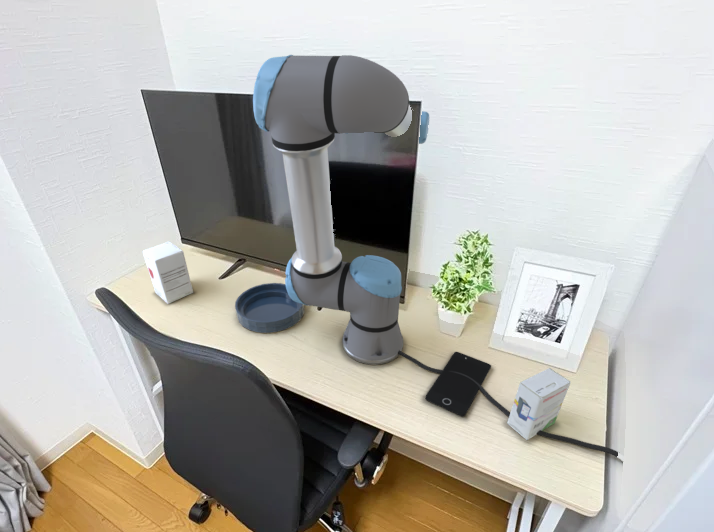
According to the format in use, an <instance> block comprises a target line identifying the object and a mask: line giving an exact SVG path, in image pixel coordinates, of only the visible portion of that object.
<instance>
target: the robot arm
mask: <svg viewBox="0 0 714 532" xmlns="http://www.w3.org/2000/svg"><path fill="white" fill-rule="evenodd" d="M252 106H253V107H252V108H253V115H254V119H255V123H256V124H257V125H258V128H259V129H260V130H263V131H264V132H265V133H266V132H270V138H271V142H272V146H273V147H274V149H276V150H277V151H279V152H280V153H281V154H282V160H283V167H284V174H285V179H286V187H287V195H288V201H289V208H290V213H291V214H290V215H291V220H292V227H293V228H292V229H293V234H294V241H295V247H296V248H295V249H296V250H295V251H294V253H293V254H292V256H291V257H290V259H289V260H288V262H287V265H286V268H285V278H284V284H286V289H287V292H288V295H289V296H290V298H291V299H292V300H293V301H295V302H297V303H301V304H304V306H309V307H315V308H316V307H317V308H321V309H328V310H335V311H341V312H346V313H349V320H348V323H347V325H346V327H345V329H344V332H343V335H342V348H343V351H344V352H345V354H346V355H347V356H348V357H349V358H350V359H352V360H353V361H356V362H358V363H360V364H364V365H371V366H372V365H373V366H379V365H385V364H388V363H391V362H393V361H394V360H396V359H397V358H398V357H402V358H403V359H406V360H408V361H410V362H412V363H413V364H415V365H416V366H418V367H419V368H421V369H423V370H425V371H428V372H430V373H434V374H438V375H440V373H441V372H442V371H443V369H440V368H435V367H432V366H429V365H426V364H425V363H423V362H421V361H419V360H418V359H417V358H415V357H413V356H411V355H409V354H408V353H406V352H404V351H403V349H404V337H403V335H402V331H401V327H400V324H399V314H400V313H399V312H400V302H401V293H402V291H403V287H402V272H401V270H400V268H399V267H398V266H397V265H396V264H395V263H394V262H393V261H391V260H389V259H387V258H385V257H382V256H378V255H372V254H371V255H370V254H366V255H364V256H363V255H360V256H357V257H355V258H354V259H353V260H352V261H351V262H348V261H343V255H342V252H341V250H340V249H339V248H338V247H337V246H336V245H335V243H336V241H335V237H336V236H335V235H336V234H334V233H333V232H335V231H336V229H333V224H334V220H333V208H332V205H331V191H330V184H331V180H330V177H331V176H330V165H329V151H328V148H329V147H330V146H331V144H333V143H334V141H335V138H336V134H343V133H345V134H348V133H364V132H374V133H385V134H386V135H388V136H391V137H397V136H400V135H402V134H404V133H405V132H406V131H407V130H408V128H409V126H410V124H411V121H412V110H413V109H412V110H411V108H412V106H411V105H410V95H409V92H408V90H407V87H406V86H405V84H404V83H403V81H402V80H401V79H400V77H398V76H397V74H395V73H394V72H393V71H391V70H389V69H388V68H386V67H385V66H383V65H381V64H380V63H377V62H375V61H373V60H371V59H368V58H365V57H362V56H358V55H351V54H349V55H346V54H343V55H294V54H289V55H284V56H283V55H282V56H274V57H270V58H268V59H266V60H265V61H264V62H263V63H262V65H261V67H259V70H258V72H257V75H256V79H255V82H254V88H253V93H252ZM410 106H411V107H410ZM421 111H422V110H421ZM428 125H429V126H430V113H429V112H428V111H424V110H423V111H422V115H421V125H420V137H419V144H418V145H423V144H424V143H426V141H427V139H428V135H429V128H428ZM427 134H428V135H427ZM451 372H453V371H451ZM455 373H458V374H461V375H463V376H466V377H468V378H469V379H471V380H472V381H474V382H475V383H476V384H477V385H478V386H479V387H480V388H479V392H480V393H481V394H482V396H484V397H485V398H486V399H487V400H488V401H489V402H490V403H491V404H492V405H493V406H495V407H496V408H497V409H498V410H499V411H501V413H503V414H504V415H505V416H506V417H508V418H509V416H510V413H511V411H509V410H508V409H507V408H506V407H504V406H503V405H502V404H501V403H499V402H498V401H497V400H496V399H495V398H494V397H492V395H491V394H489V392H488V391H487V390H486V389H485V388H484V387H483V386H482V385H480V384H479V383H478V382H476V381H475V380H474V379H472V378H471V377H469V376H467V375H465V374H462V373H459V372H455ZM536 436H541V437H544V438H546V439H550V440H555V441H560V442H563V443H568V444H572V445H575V446H577V447H578V446H579V447H582V448H585V449H588V450H589V449H590V450H592V451H598V452H601V453H605V454H608V455H610V456H614V457H615V458H617V456H618V452H619V451H617V450H615V449H613V448H610V447H606V446H603V445H599V444H595V443H590V442H586V441H583V440H578V439H576V438H573V437H569V436H566V435H565V436H564V435H560V434H555V433H550V432H547V431H545V430H543V431H541V430H539V431H538V432H537V433H536Z"/></svg>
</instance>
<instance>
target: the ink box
mask: <svg viewBox="0 0 714 532" xmlns="http://www.w3.org/2000/svg"><path fill="white" fill-rule="evenodd" d="M571 383H572V382H571V380H569V379H568V378H567V377H564V375H562V374H561V373H558V372H557V371H556V370H554V369H552V368H551V367H548V368H546V369H544V370H542V371H540V372H538V373H536V374H534V375H532V376H530V377H528V378H526V379H524V380H522V381H520V382H519V385H518V388H517V391H516V394H515V397H514V401H513V403H512V407H511V410H510V416H509V417H508V418H507V422H506V424H507V425H508V426H509V427H510V428H512V429H513V430H514V431H515V432H516V433H517V434H519V435H520V436H521V437H522V438H523V439H525V441H529V440H531V439H532V438H533V437H535V436H537V434H536V433H537V432H538V431H539V430H541V431H545V430H546V429H548V428H549V427H551V426H552V425H555V423H556V421H557V418H558V416H559V413H560V411H561V408H562V405H563V404H564V400H565V398H566V396H567V393H568V391H569V388H570V386H571Z"/></svg>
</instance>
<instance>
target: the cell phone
mask: <svg viewBox="0 0 714 532" xmlns="http://www.w3.org/2000/svg"><path fill="white" fill-rule="evenodd" d="M491 368H492V364H490V363H489V362H485V361H483V360H480V359H477V358H475V357H473V356H470V355H467V354H465V353H462V352H459V351H454V352H453V354H452V355H451V357H450V358H449V360H448V361H447V363H446V364H445V365H444V367H443V368H442V370H443V371H442V372H441V373H440V374H438V376H437V378H436V379H435V381H434V382H433V384H432V385H431V387H430V388H429V390H427V393H426V394H425V397H424V400H425V401H426V402H428V403H431V404H433V405H434V406H437V407H440V408H441V409H444V410H446V411H448V412H450V413H452V414H455V415H457V416H459V417H461V418H464V417H466V415H467V413H468V411H469V410H470V407H471V406H472V404H473V403H474V400H475V398H476V396H477V394H478V393H479V392H480V390H479V388H480V387H479V386H478V385H477V384H476V383H475V382H474V381H472V380H471V379H469V378H468V377H466V376H463V375H461V374H458V373H455V372H459V373H462V374H465V375H467V376H469V377H471V378H472V379H474V380H475V381H476V382H478V383H479V384H480V385H481V386H482V385H483V384H484V382H485V379H486V378H487V376H488V374H489V372H490V370H491ZM451 371H453V372H451Z"/></svg>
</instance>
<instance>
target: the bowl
mask: <svg viewBox="0 0 714 532" xmlns="http://www.w3.org/2000/svg"><path fill="white" fill-rule="evenodd" d="M234 309H235V314H236V315H235V316H236V319H237V321H238V323H239V324H240V325H241V326H242V327H243V328H244V329H247V330H249V331H252V332H255V333H262V334H269V333H277V332H281V331H284V330H287V329H289V328H292V327H293V326H295V325H296V324H297V323H298V322H300V321H301V319H302V318H303V317H304V314H305V310H306V309H305V305H304V304H301V303H297V302H295V301H293V300H292V299H291V298H290V296H289V295H288V292H287V289H286V284H285V283H281V282H269V283H262V284H258V285H255V286H252V287H249V288H248V289H246V290H244V291H243V292H242V293H241V294H240V295H238V296H237V298H236V300H235V304H234Z"/></svg>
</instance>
